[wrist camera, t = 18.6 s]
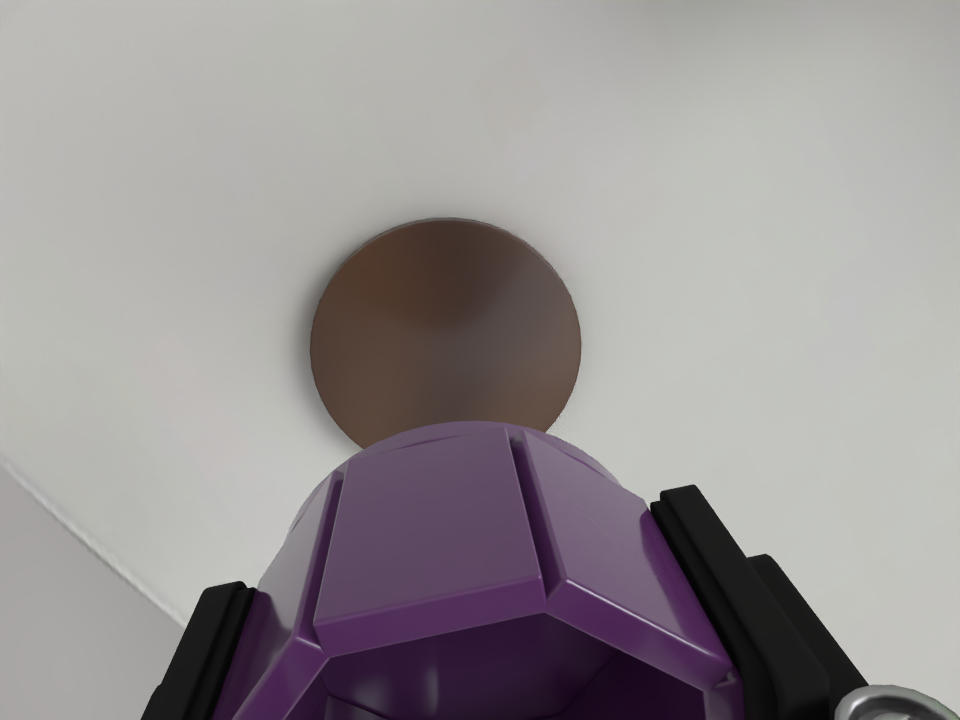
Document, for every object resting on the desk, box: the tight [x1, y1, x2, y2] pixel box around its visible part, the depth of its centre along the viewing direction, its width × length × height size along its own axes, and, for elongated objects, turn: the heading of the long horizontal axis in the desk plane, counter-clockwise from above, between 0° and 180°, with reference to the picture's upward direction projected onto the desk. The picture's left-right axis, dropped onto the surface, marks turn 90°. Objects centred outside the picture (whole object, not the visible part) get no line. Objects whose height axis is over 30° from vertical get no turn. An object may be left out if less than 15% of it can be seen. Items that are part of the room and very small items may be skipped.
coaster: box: [310, 218, 581, 449], centre depth 23 cm, size 9×9×1 cm
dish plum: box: [212, 421, 746, 720], centre depth 10 cm, size 6×6×4 cm
